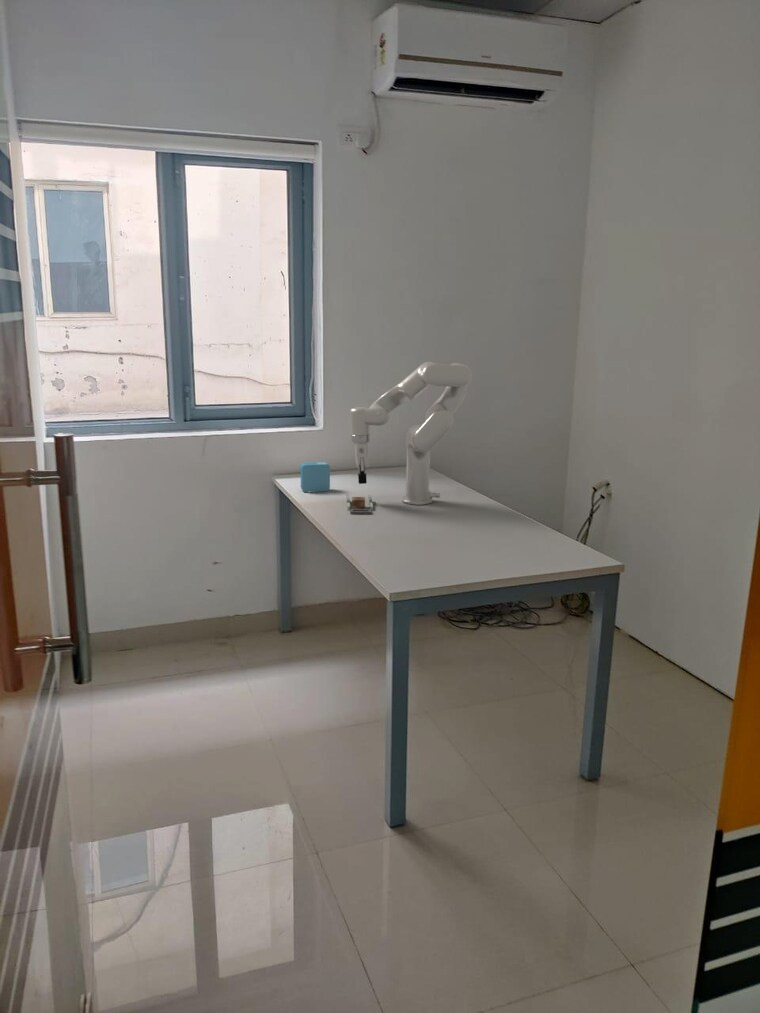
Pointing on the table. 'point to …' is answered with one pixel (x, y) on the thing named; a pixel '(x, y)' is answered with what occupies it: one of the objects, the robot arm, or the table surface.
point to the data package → (315, 476)
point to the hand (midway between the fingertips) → (362, 483)
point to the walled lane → (369, 499)
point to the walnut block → (358, 502)
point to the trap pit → (360, 511)
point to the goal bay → (349, 506)
